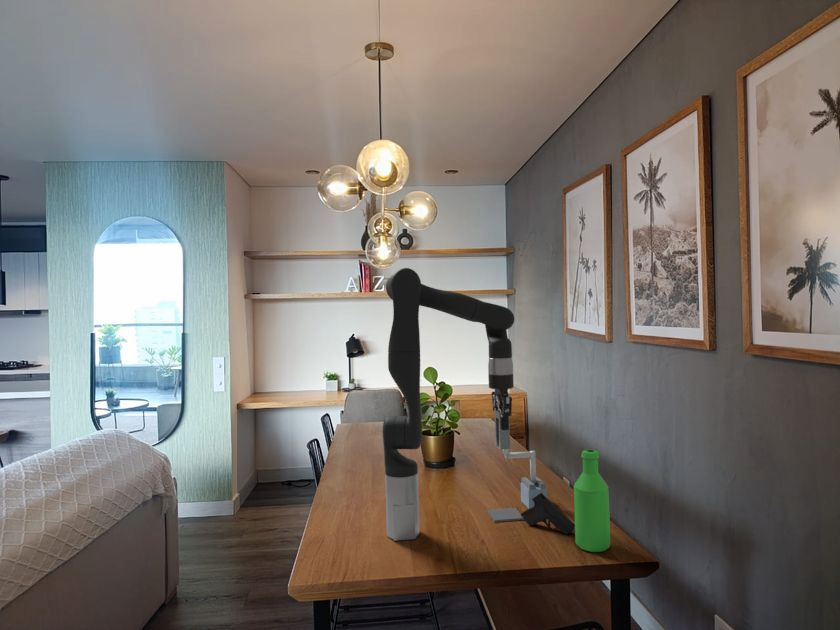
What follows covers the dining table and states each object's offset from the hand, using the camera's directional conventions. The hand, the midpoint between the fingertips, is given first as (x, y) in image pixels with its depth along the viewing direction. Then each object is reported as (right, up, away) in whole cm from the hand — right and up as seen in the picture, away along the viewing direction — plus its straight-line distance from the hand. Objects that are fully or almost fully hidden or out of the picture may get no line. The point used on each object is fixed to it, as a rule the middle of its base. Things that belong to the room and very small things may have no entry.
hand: (502, 427), depth 167 cm
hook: (0, -6, 0) cm, 6 cm away
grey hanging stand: (+8, -27, +9) cm, 29 cm away
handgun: (+11, -27, -11) cm, 31 cm away
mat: (+1, -27, 0) cm, 27 cm away
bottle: (+20, -26, -24) cm, 41 cm away
